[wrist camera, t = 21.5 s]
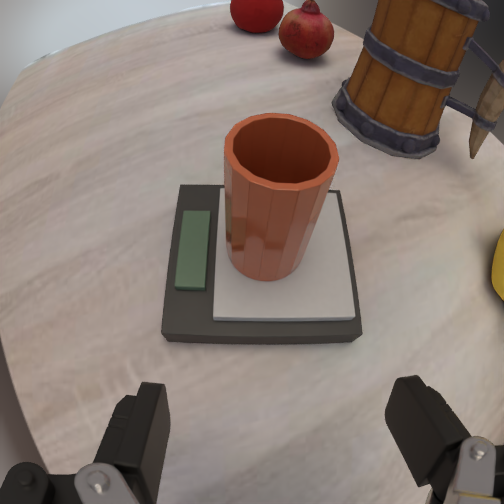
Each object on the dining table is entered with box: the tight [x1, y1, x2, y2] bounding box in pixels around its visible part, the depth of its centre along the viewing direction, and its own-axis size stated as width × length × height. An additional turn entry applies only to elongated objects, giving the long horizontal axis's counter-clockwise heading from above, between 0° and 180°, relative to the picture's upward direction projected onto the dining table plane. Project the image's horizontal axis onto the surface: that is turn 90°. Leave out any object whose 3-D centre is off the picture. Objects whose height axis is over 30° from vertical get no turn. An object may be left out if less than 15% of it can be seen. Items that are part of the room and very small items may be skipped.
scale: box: [161, 185, 362, 344], centre depth 23 cm, size 13×12×3 cm
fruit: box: [278, 0, 334, 59], centre depth 37 cm, size 8×8×10 cm
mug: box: [332, 0, 504, 159], centre depth 26 cm, size 19×14×20 cm
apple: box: [230, 0, 284, 33], centre depth 42 cm, size 9×9×10 cm
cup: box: [224, 113, 339, 281], centre depth 18 cm, size 5×5×9 cm
